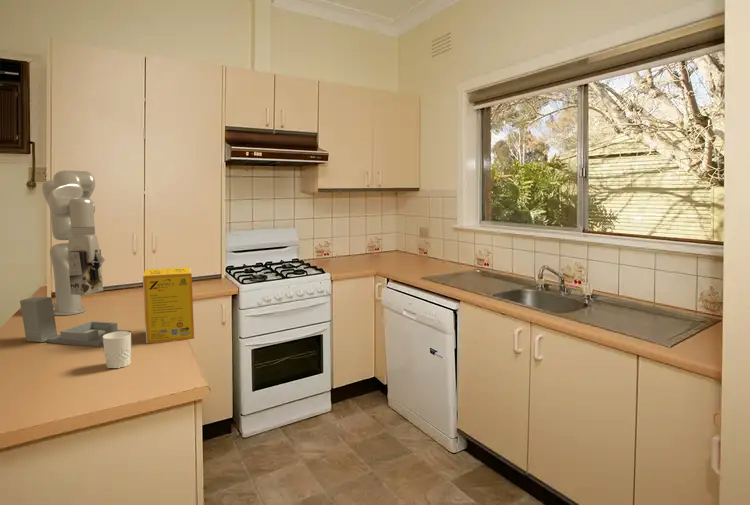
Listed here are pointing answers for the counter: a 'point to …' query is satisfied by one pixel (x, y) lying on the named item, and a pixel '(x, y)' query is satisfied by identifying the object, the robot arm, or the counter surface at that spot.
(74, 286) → the coffee box
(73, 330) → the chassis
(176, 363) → the counter surface
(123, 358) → the white cup
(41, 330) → the skincare box
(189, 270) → the packaging box
